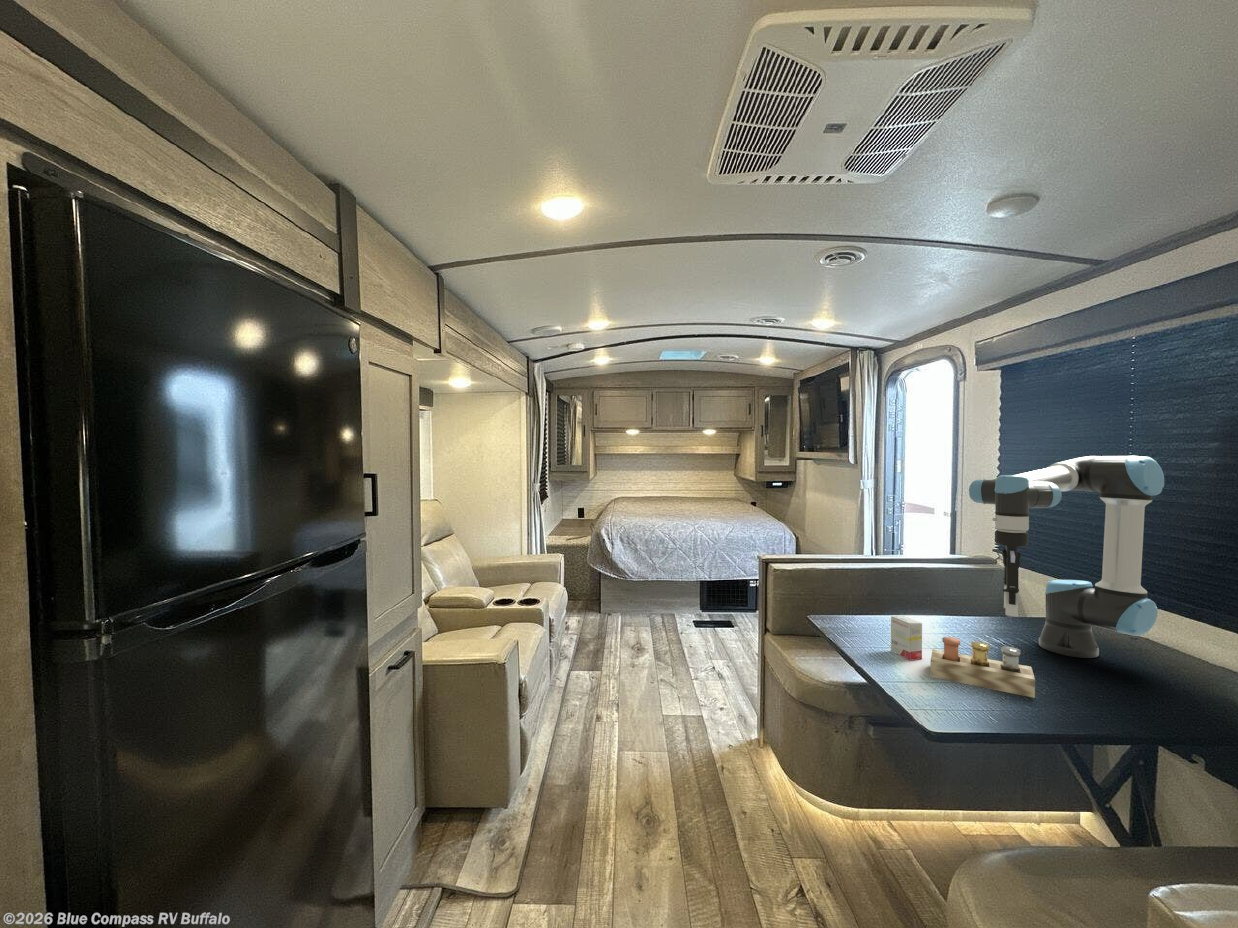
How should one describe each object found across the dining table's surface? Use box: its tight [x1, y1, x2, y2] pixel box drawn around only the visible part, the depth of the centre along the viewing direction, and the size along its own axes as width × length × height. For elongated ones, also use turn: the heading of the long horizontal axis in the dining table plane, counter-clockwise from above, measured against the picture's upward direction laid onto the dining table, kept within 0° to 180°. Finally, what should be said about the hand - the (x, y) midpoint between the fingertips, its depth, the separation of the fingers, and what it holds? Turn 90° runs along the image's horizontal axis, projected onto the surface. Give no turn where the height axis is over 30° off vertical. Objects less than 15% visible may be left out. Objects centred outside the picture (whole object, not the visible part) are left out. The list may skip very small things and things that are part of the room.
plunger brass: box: [970, 641, 990, 667], centre depth 149 cm, size 4×4×6 cm
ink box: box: [890, 615, 923, 661], centre depth 168 cm, size 9×5×12 cm, turn 13°
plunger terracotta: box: [941, 636, 961, 662], centre depth 153 cm, size 4×4×6 cm
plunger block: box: [929, 649, 1036, 699], centre depth 149 cm, size 24×10×5 cm, turn 56°
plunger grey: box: [1000, 645, 1021, 673], centre depth 145 cm, size 4×4×6 cm
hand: (1010, 611), depth 145 cm, fingers open, 7 cm apart
